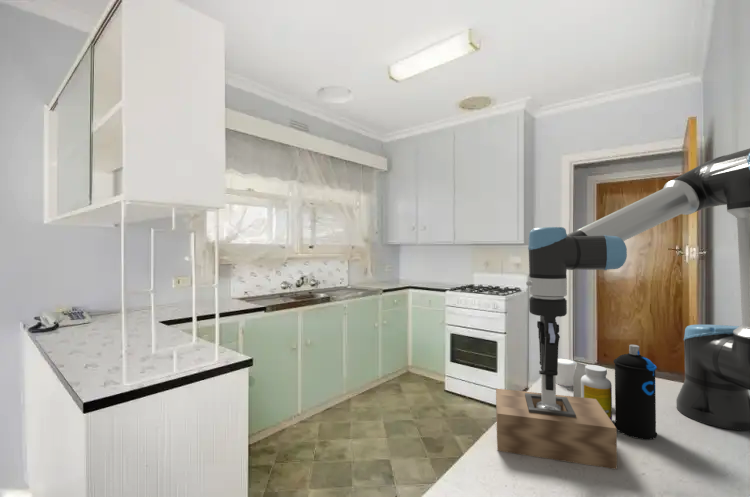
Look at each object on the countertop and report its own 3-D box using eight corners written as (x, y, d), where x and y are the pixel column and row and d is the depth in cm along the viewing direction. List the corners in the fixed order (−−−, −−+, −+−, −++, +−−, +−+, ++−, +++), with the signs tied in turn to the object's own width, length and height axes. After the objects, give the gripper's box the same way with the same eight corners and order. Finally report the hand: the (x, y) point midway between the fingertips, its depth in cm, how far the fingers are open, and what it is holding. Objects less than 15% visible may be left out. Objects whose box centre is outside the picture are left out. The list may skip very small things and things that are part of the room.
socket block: (596, 433, 83) (595, 396, 83) (616, 469, 69) (616, 425, 69) (496, 420, 89) (496, 386, 89) (497, 450, 76) (497, 410, 76)
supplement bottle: (617, 426, 86) (616, 373, 86) (586, 424, 87) (586, 371, 87) (605, 413, 92) (604, 364, 92) (577, 411, 94) (576, 362, 94)
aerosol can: (611, 431, 83) (610, 346, 83) (617, 418, 90) (616, 339, 89) (655, 444, 78) (654, 353, 78) (659, 429, 84) (658, 345, 84)
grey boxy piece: (598, 407, 96) (597, 370, 96) (573, 398, 102) (573, 363, 102) (605, 404, 98) (605, 367, 98) (580, 395, 104) (580, 361, 104)
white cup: (581, 386, 110) (580, 364, 110) (559, 387, 110) (558, 364, 110) (568, 378, 117) (568, 357, 117) (547, 378, 117) (547, 357, 117)
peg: (559, 437, 81) (559, 402, 81) (563, 449, 76) (563, 412, 76) (535, 434, 82) (535, 399, 82) (538, 445, 78) (537, 409, 78)
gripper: (526, 292, 87) (527, 389, 87) (532, 300, 74) (533, 413, 74) (560, 293, 84) (561, 392, 84) (573, 301, 72) (574, 418, 72)
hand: (548, 402), depth 79 cm, fingers closed
